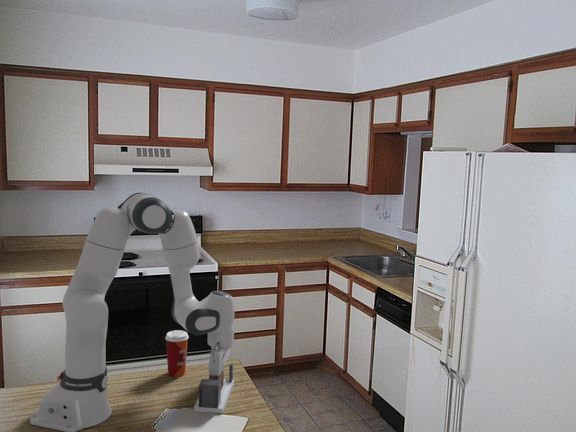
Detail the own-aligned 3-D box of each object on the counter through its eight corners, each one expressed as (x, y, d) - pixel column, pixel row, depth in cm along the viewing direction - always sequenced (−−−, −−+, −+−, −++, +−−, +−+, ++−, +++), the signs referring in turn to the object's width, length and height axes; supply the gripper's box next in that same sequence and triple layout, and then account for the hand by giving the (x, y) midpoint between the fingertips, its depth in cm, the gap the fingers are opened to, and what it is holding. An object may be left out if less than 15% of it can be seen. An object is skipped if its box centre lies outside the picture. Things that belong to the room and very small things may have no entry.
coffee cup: (185, 379, 175) (186, 338, 173) (162, 378, 175) (162, 337, 173) (190, 368, 183) (190, 329, 181) (168, 368, 183) (168, 329, 181)
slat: (205, 405, 154) (205, 390, 153) (214, 385, 168) (214, 371, 167) (214, 406, 154) (214, 391, 153) (223, 385, 167) (223, 371, 167)
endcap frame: (193, 411, 153) (194, 383, 152) (208, 382, 173) (209, 357, 172) (222, 413, 153) (223, 385, 151) (234, 383, 172) (234, 359, 171)
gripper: (223, 350, 157) (223, 391, 159) (235, 328, 177) (234, 365, 179) (204, 349, 158) (203, 390, 159) (217, 327, 178) (217, 363, 180)
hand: (220, 376), depth 169 cm, fingers closed
